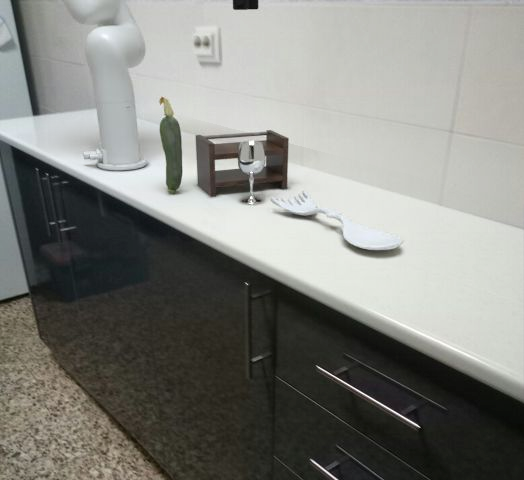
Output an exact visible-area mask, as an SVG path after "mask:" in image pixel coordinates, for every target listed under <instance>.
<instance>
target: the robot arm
mask: <svg viewBox="0 0 524 480" xmlns="http://www.w3.org/2000/svg"><path fill="white" fill-rule="evenodd" d="M62 2H63V4H64V6H65V8H66V9H67V11H68V13H69V15H70V16H71V18H72V19H73V20H74V21H75V22H76V23H78V24H80V25H85V26H86V25H87V26H93V25H96V26H97V27H96V28H94V29H92V30H91V31H90V32H89V33H88V35H87V37H86V39H85V43H84V53H85V59H86V63H87V66H88V68H89V73H90V77H91V81H92V88H93V94H94V101H95V107H96V117H97V124H98V125H97V126H98V132H99V133H98V134H99V141H100V145H99V146H98V148H96V149H94V150H92V151H91V150H84V151H82V156H83V159H84V160H90V161H95V160H96V165H97V167H98V168H99V169H101V170H106V171H131V170H137V169H142V168H143V167H145V166H147V164H148V161H147V158H145V157H144V156H141V151H140V149H141V148H140V139H139V138H140V137H139V129H138V119H137V118H138V117H137V107H136V100H135V98H136V97H135V89H134V85H133V81H132V78H131V75H130V72H129V69H133V68H135V67H137V66H139V65H140V64H142V62H143V60H144V59H145V56H146V50H147V49H146V43H145V38H144V37H143V34H142V32H141V30H140V27H139V25H138V24H137V21H136V19H135V17H134V16H133V13H132V11H131V10H130V8H129V6H128V3H127V1H126V0H62ZM232 9H233V10H234V11H247V10H259V0H232Z"/></svg>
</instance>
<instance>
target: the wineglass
mask: <svg viewBox="0 0 524 480" xmlns="http://www.w3.org/2000/svg"><path fill="white" fill-rule="evenodd" d="M259 141H260V140H243V141H240V142H241V143H240V146H239V151H238V158H237V166H238V169H240V170H241V171H242V172H243V173H245V174H248V175H250V177H249V182H250V184H249V196H248V197H244V198H241V199H240V203H243V204H245V205H256V204H261V203H262V199H261V198H259V197H255V196H254V195H253V194H254V193H253V186H254V183H253V182H254V178H253V175H255V174H258V173H260V172H261V171H262V170H263V168H264V166H266V156H265V152H264V147H263V143H262V142H259Z"/></svg>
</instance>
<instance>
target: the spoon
mask: <svg viewBox="0 0 524 480" xmlns="http://www.w3.org/2000/svg"><path fill="white" fill-rule="evenodd" d="M293 198H294V199H292V198H290V197H288V198H287V200H286V199H284V198H282V197H281V199H280V198H279V197H276V198H275V197H273V196H270V197H269V199H270V202H271V203H272V204H274V205H276V206H278V207H280V208H282V209H284V210H286V211H287V212H290V213H291V214H294V215H299V216H311V215H315V214H324V215H325V216H326V217H327V218H329V219H335V220H337V221H339V222H340V223H341V224H342V235H343V238H344V239H345V240H346V241H347V242H348V243H349V244H351V245H352V246H354V247H356V248H360V249H363V250H369V251H388V250H393V249H396V248H399V247H400V246H402V245H403V243H404V242H405V240H404V239H403V238H401V237H400V236H397V235H394V234H391V233H388V232H385V231H382V230H379V229H376V228H372V227H369V226H365V225H363V224H360V223H357V222H354V221H352V220H350V219H349V218H347V217H345V216H344V215H342V213H341V212H340V211H337V210H332V209H329V208H328V207H323V206H319V207H318V206H317V204H316V203H315V202H314V200H313V199H312V197H311V196H310V195H309V194H308V192H306V191H305V190H302V194H300V193H298V197H297V196H296V195H294V196H293Z"/></svg>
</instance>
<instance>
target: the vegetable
mask: <svg viewBox="0 0 524 480" xmlns="http://www.w3.org/2000/svg"><path fill="white" fill-rule="evenodd" d="M158 103H159V105H160V106H161V105H162V104H163V112H164V114H163V115H164V117H163V118H162V119H161V121H160V123H159V136H160V141H161V146H162V149H163V153H164V157H165V184H166V187H167V188H166V189H167V190H168V192H169V193H170V194H175V193H177V191H178V190H179V189H180V187H181V184H182V181H183V180H182V179H183V145H182V142H183V141H182V132H181V126H180V123H179V121H178V120H177V119H176V118H175V117H174V114H175V113H174V109H173V107H172V105H171V103H170V101H169V100H168V99H167V98H166V97H165V96H161V97H160V98H159V101H158Z"/></svg>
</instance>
